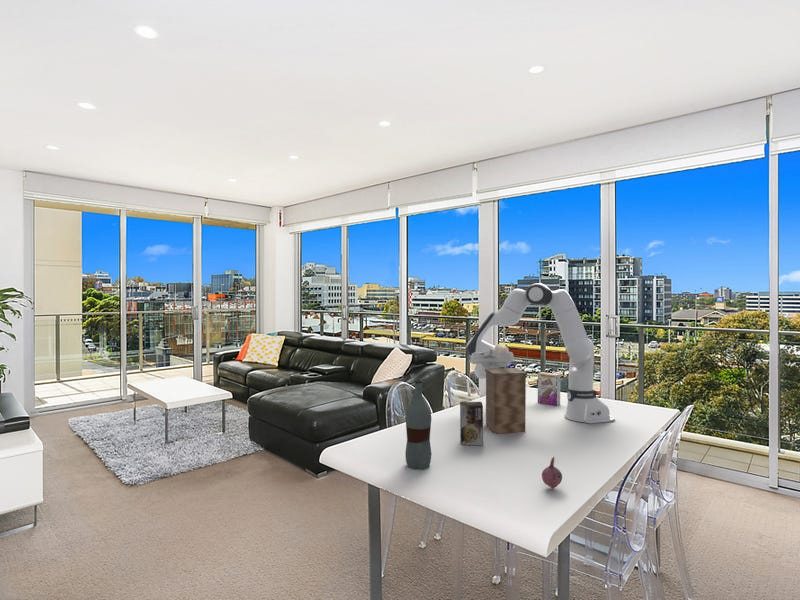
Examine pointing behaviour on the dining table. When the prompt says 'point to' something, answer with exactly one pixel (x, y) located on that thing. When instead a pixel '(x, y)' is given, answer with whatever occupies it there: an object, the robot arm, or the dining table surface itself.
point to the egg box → (500, 352)
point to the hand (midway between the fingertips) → (496, 351)
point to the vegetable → (551, 475)
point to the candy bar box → (549, 388)
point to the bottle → (418, 431)
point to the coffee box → (471, 423)
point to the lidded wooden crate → (505, 400)
